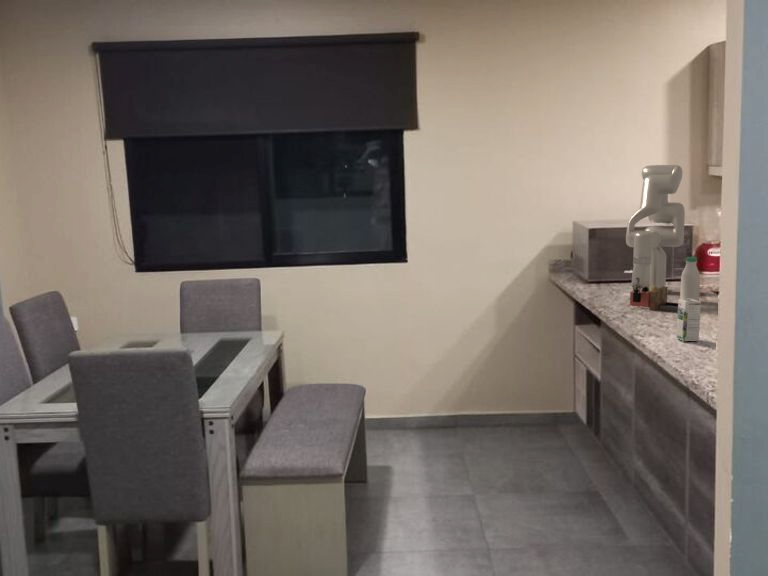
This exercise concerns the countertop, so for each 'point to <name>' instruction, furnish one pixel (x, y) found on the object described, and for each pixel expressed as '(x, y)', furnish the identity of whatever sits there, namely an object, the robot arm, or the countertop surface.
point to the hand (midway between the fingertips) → (640, 300)
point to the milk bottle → (690, 280)
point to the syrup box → (688, 319)
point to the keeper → (669, 306)
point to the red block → (644, 299)
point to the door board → (657, 297)
